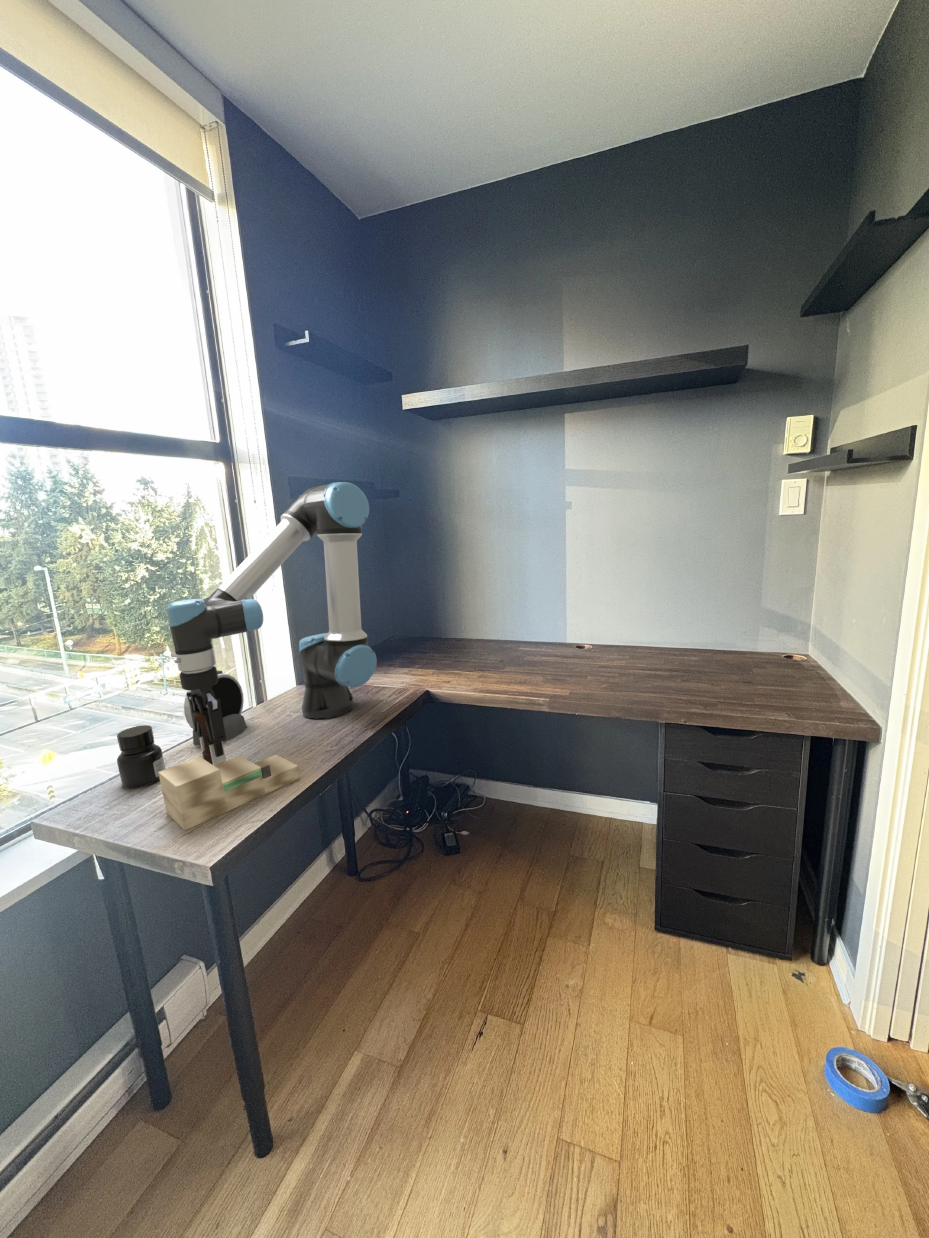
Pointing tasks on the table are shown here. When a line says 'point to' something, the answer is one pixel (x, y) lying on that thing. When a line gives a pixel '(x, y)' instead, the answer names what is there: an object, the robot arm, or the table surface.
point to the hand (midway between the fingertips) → (215, 764)
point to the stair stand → (220, 786)
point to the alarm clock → (224, 707)
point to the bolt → (204, 735)
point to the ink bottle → (139, 757)
